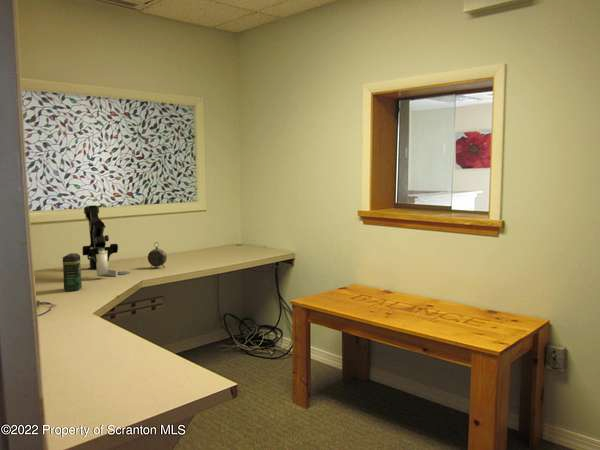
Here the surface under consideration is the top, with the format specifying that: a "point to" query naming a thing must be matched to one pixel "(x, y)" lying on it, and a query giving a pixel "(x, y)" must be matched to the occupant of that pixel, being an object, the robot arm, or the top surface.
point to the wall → (112, 273)
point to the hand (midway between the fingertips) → (102, 261)
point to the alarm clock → (157, 257)
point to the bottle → (102, 262)
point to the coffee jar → (72, 272)
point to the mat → (123, 272)
